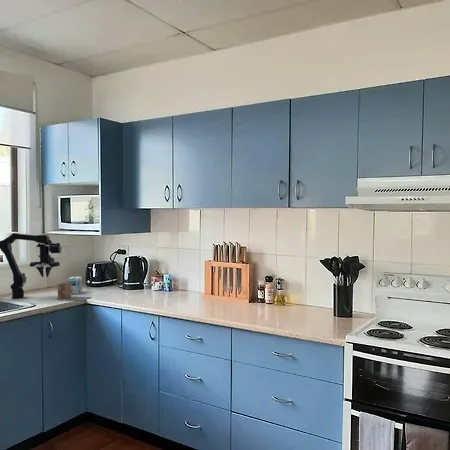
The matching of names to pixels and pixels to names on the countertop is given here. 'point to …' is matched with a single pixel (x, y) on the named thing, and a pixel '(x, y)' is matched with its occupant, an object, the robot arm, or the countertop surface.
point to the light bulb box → (75, 284)
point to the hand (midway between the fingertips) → (45, 277)
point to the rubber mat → (77, 298)
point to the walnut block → (64, 291)
